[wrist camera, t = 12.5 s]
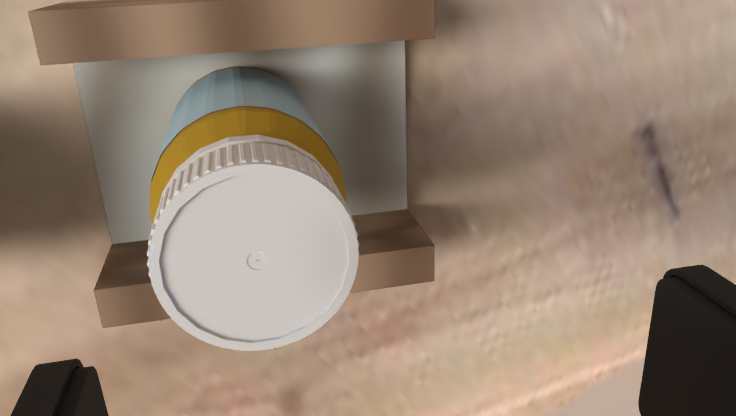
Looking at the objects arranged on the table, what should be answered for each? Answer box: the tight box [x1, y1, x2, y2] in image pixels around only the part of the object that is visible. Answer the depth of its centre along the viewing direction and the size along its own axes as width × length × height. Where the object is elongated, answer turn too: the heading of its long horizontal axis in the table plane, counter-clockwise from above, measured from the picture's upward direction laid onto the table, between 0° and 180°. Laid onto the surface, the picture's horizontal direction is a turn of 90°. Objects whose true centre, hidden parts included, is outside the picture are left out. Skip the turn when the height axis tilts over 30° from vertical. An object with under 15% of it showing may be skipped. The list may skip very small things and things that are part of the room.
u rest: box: [28, 0, 435, 328], centre depth 30 cm, size 16×14×6 cm
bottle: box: [147, 66, 359, 351], centre depth 25 cm, size 7×7×15 cm
